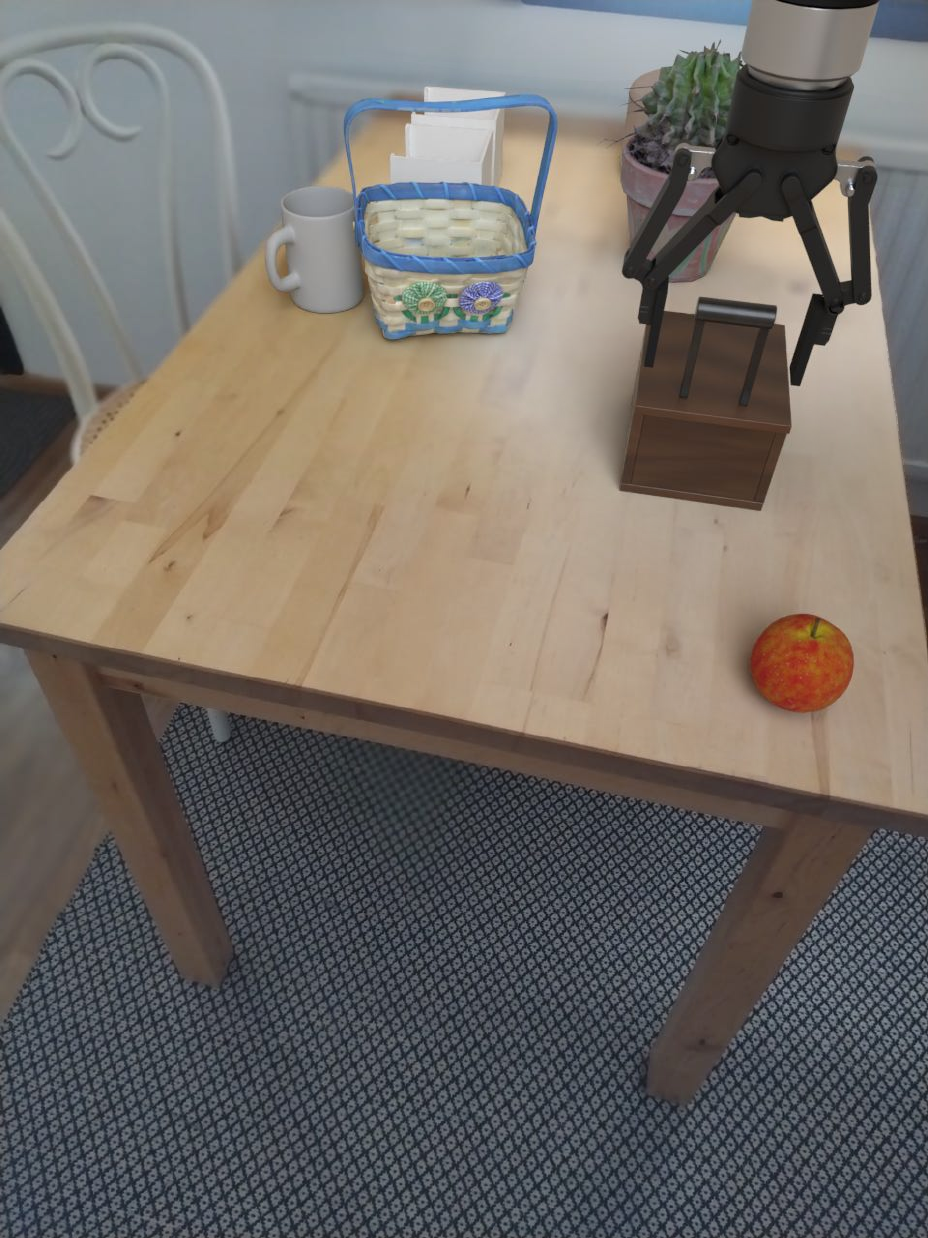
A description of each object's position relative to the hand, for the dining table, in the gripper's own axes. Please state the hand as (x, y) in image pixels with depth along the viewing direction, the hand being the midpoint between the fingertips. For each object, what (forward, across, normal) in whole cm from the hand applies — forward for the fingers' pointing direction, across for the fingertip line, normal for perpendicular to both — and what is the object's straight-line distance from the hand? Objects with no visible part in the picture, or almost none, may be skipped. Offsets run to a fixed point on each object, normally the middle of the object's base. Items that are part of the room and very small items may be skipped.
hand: (721, 367), depth 76 cm
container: (+13, +4, -73) cm, 74 cm away
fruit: (+13, -8, +23) cm, 27 cm away
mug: (+13, +44, -25) cm, 52 cm away
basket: (+13, +28, -24) cm, 39 cm away
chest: (+13, 0, -6) cm, 14 cm away
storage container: (+13, +34, -53) cm, 64 cm away
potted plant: (+13, +5, -44) cm, 46 cm away
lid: (+4, 0, -6) cm, 7 cm away
